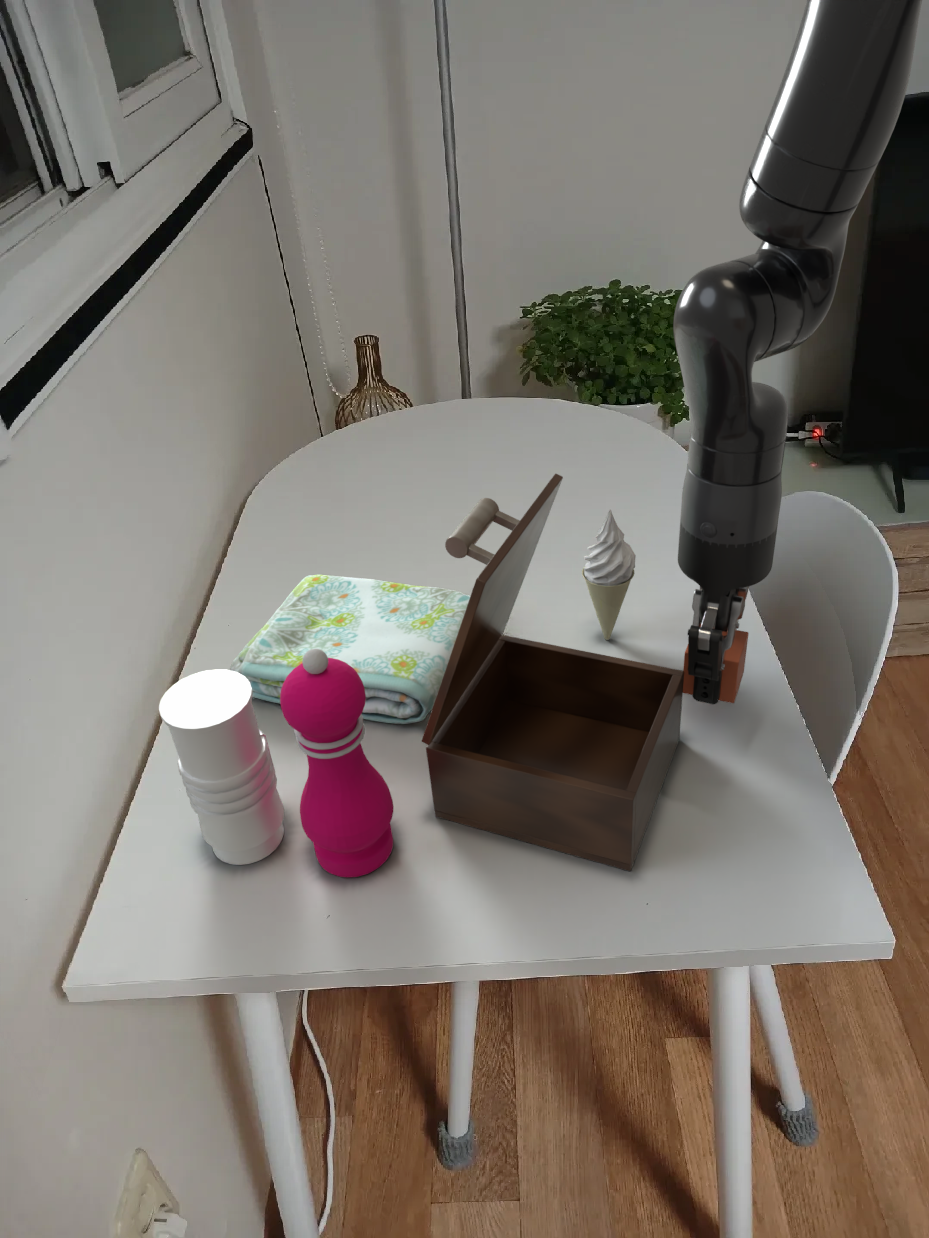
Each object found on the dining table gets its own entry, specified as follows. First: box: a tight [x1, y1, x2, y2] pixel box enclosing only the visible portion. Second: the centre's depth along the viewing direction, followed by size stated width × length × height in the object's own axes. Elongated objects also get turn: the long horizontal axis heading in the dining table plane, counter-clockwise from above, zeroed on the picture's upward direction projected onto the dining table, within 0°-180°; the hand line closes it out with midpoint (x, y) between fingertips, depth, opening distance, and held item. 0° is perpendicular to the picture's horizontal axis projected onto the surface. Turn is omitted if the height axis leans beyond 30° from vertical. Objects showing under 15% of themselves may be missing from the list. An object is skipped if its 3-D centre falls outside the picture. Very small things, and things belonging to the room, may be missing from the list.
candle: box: [158, 668, 285, 866], centre depth 74 cm, size 7×7×15 cm
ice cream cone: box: [581, 509, 637, 641], centre depth 92 cm, size 5×5×15 cm
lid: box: [421, 473, 564, 746], centre depth 74 cm, size 17×16×5 cm
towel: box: [229, 574, 471, 725], centre depth 95 cm, size 18×21×5 cm
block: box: [682, 623, 749, 704], centre depth 84 cm, size 5×5×5 cm
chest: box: [425, 634, 684, 872], centre depth 79 cm, size 17×16×8 cm
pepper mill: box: [280, 649, 394, 878], centre depth 71 cm, size 7×7×20 cm
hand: (712, 681), depth 85 cm, fingers closed on block, 4 cm apart
